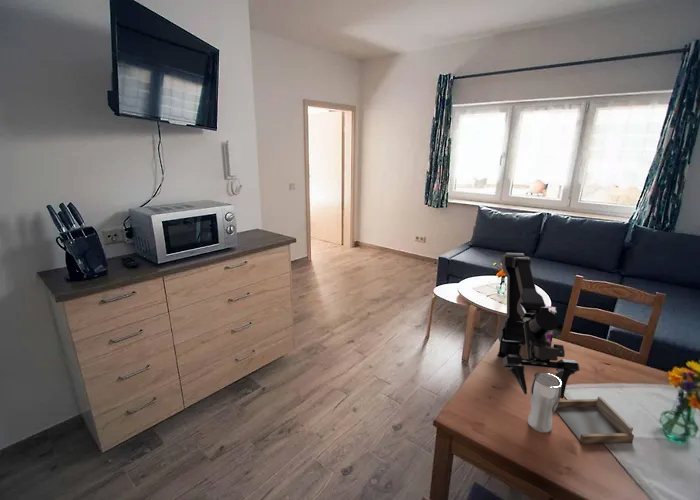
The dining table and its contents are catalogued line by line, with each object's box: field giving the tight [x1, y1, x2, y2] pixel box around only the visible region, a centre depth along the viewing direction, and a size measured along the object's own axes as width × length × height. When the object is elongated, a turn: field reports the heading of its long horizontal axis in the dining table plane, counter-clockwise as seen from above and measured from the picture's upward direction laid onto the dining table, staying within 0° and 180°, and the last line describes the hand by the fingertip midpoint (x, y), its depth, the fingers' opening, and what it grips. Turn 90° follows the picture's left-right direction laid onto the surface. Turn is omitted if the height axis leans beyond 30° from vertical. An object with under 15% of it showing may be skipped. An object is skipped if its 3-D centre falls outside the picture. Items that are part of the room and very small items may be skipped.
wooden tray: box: [555, 396, 635, 445], centre depth 95 cm, size 13×13×4 cm
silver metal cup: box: [527, 371, 562, 434], centre depth 93 cm, size 7×7×15 cm
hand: (543, 396), depth 93 cm, fingers open, 9 cm apart
